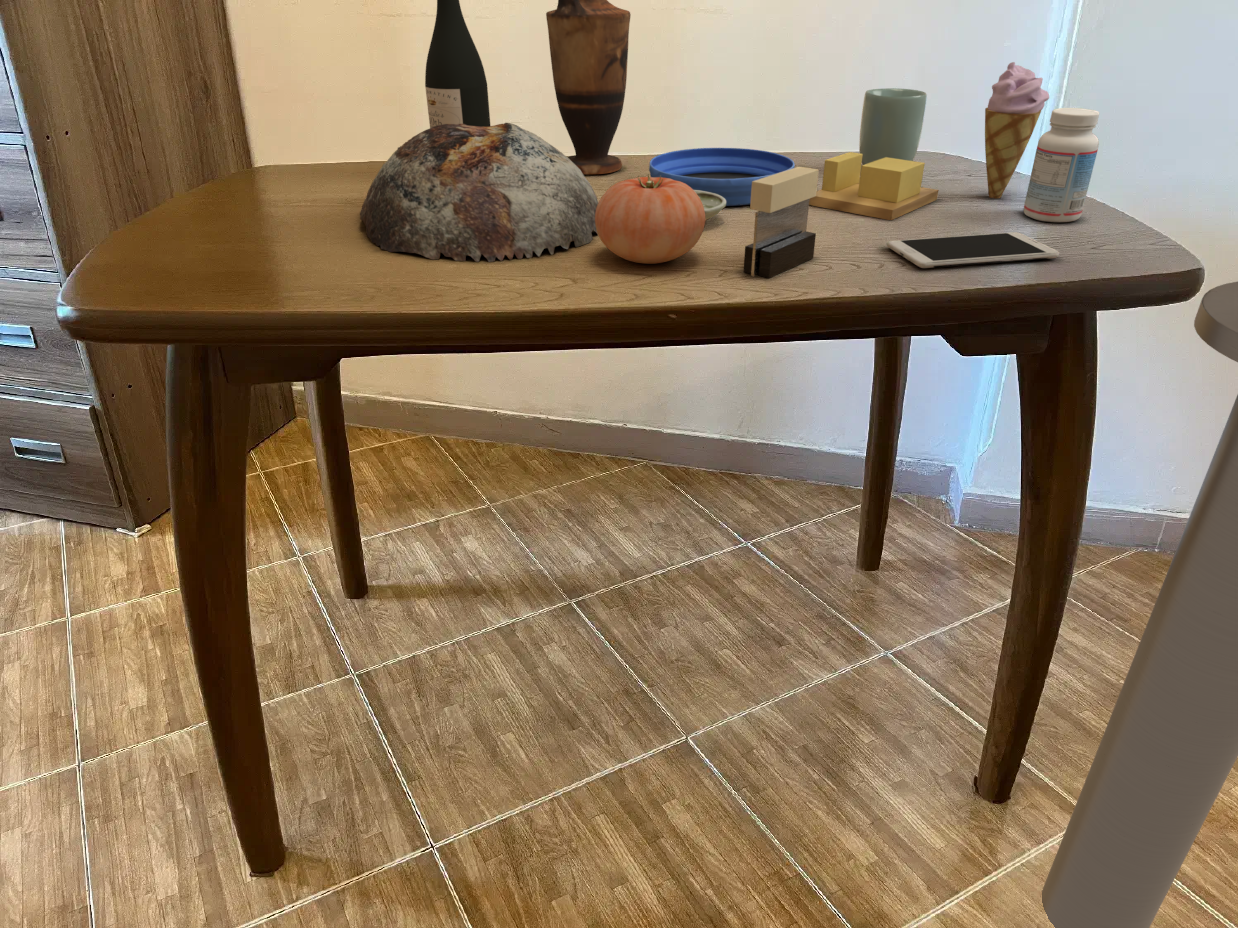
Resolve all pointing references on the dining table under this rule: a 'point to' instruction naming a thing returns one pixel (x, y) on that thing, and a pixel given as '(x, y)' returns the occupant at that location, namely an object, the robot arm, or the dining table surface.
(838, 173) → the butter slice
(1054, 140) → the pill bottle
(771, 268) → the knife holder
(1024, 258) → the smartphone
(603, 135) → the vase
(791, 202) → the knife
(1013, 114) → the ice cream cone
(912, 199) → the board
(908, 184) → the butter block
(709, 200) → the saucer
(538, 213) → the bread
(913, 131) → the cup
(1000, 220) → the dining table surface
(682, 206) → the tomato
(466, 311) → the dining table surface
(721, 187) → the bowl
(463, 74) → the wine bottle
